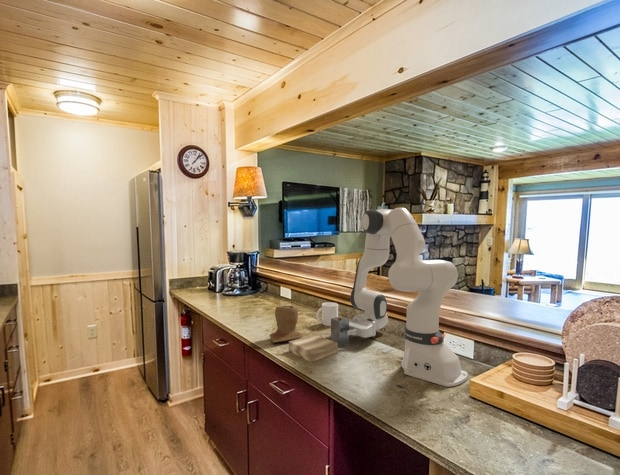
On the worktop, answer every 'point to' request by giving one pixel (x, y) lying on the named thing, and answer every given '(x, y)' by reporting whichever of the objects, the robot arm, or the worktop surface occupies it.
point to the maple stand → (313, 347)
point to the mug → (327, 313)
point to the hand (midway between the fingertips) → (338, 330)
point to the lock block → (340, 330)
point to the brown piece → (285, 324)
